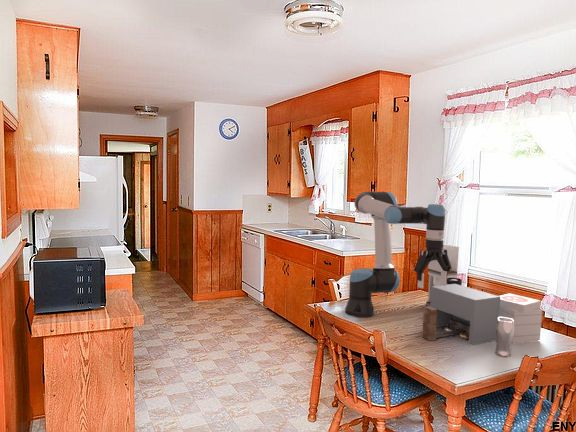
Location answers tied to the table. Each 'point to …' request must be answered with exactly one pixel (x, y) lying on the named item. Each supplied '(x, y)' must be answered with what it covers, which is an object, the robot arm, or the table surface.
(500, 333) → the beer glass
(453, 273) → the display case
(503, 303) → the stacked pizza boxes
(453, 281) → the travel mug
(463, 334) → the brass token
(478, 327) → the grey cabinet
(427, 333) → the brown upright bracket
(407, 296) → the table surface
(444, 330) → the steel token
